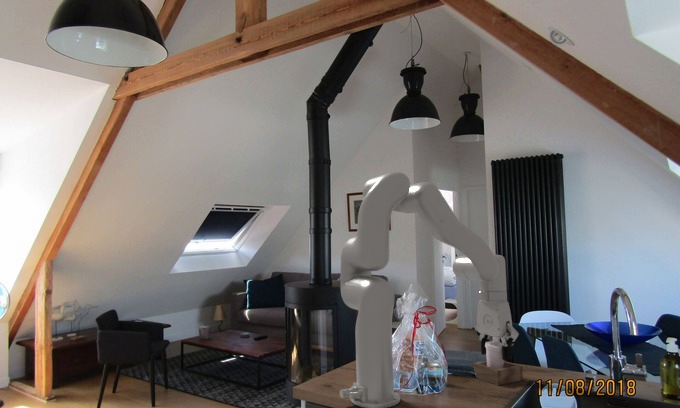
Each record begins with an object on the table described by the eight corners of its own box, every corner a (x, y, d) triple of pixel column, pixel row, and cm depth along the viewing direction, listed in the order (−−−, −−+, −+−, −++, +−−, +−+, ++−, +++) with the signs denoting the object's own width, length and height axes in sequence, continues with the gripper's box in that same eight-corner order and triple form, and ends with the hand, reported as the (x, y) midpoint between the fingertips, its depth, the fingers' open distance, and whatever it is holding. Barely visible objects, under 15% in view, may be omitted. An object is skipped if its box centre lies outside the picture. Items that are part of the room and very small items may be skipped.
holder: (498, 385, 131) (497, 370, 132) (472, 376, 140) (472, 363, 141) (523, 380, 136) (522, 366, 136) (497, 372, 145) (496, 358, 145)
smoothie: (508, 381, 136) (512, 334, 135) (486, 380, 136) (489, 332, 135) (501, 373, 142) (504, 327, 142) (480, 371, 142) (483, 326, 142)
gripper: (463, 294, 146) (466, 352, 145) (507, 300, 131) (510, 365, 129) (481, 293, 150) (484, 349, 148) (526, 298, 134) (529, 361, 133)
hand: (496, 356), depth 139 cm, fingers open, 7 cm apart
